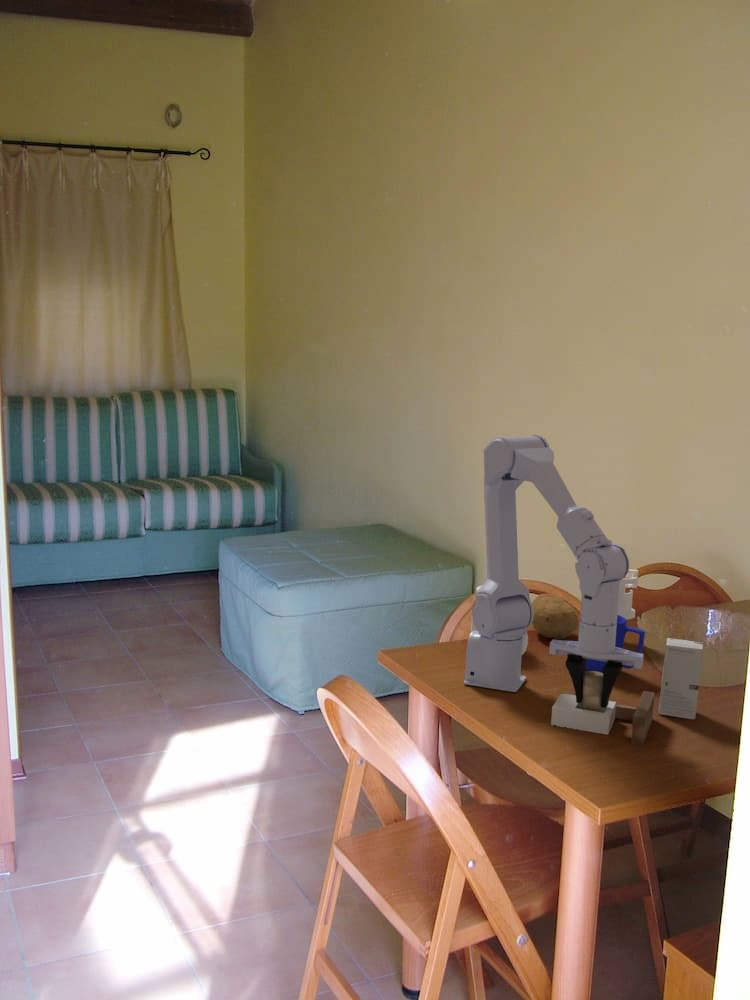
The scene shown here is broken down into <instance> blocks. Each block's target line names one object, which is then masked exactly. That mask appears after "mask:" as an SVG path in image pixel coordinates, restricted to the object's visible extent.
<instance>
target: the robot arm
mask: <svg viewBox="0 0 750 1000" xmlns="http://www.w3.org/2000/svg"><path fill="white" fill-rule="evenodd" d="M554 459H555V452H554V450H552V448H551V447H550V445H549V443H548V441H547V440H546V438H544V437H543V435H539V434H533V435H526V436H525V435H524V436H509V437H508V436H506V437H504V436H496V437H494V438H492V440H491V441H490V442H489V443H488V444H487V446H486V447H485V448H483V464H484V465H483V467H484V469H483V470H484V475H483V498H484V522H485V523H484V524H485V529H484V530H485V549H486V550H485V551H486V552H485V553H486V555H485V556H486V577H487V580H486V581H485V582H484V583H483V584H481V585H480V586H481V587H480V588H479V590H478V591H477V592H475V593H474V594H475V600H474V602H475V606H474V609H473V608H472V610H473V622H474V625H475V627H476V629H477V631H472V632H471V631H470V633H469V636H468V639H467V644H466V654H465V673H464V674H465V676H464V681H463V684H464V685H468V686H473V687H474V686H475V687H480V688H487V689H492V690H499V691H505V692H510V693H511V692H512V693H517V692H518V691H519V689H520V688H521V686H522V685H523V684H524V682H525V681H526V679H527V676H526V675H521V672H522V671H521V670H522V669H521V668H522V657H523V655H522V640H523V635H525V634H526V631H527V629H528V628H530V627H531V625H532V622H533V618H534V610H533V606H532V601H531V598H530V588H529V587H528V586H527V585H525V584H524V583H523V582H522V581H521V580H520V579H519V577H520V576H519V553H518V552H519V551H518V528H517V527H518V526H517V499H516V498H517V497H516V496H517V495H516V492H517V490H518V488H519V487H520V486H521V485H522V484H523V483H524V482H529V483H531V484H532V485H534V487H535V488H536V489H537V491H538V492H539V493H540V495H541V496H542V497H543V498H544V500H545V501H546V503H547V504H548V505H549V506H550V508H551V509H552V510H553V512H554V513H555V514H556V515H557V517H558V518H557V522H556V529H557V530H558V532H559V534H560V535H561V536H562V538H563V540H564V541H565V543H566V545H567V546H568V548H569V549H570V551H571V552H572V554H573V556H574V557H575V558H576V560H577V562H574V563H575V564H574V568H575V573H576V575H577V578H578V581H579V588H578V589H579V590H580V593H581V597H580V598H581V599H580V612H579V613H580V614H579V624H578V641H576V640H575V641H574V640H560V639H552V640H551V641H550V642H549V652H548V653H549V655H554V656H556V655H561V656H566V657H567V658H566V660H565V662H564V663H565V667H566V669H567V671H568V674H569V676H570V678H571V682H572V684H573V688H574V689H573V690H574V693H575V695H576V702H577V703H581V702H582V690H583V676H584V672H586V671H587V670H586V663H587V659H591V660H598V661H604V662H607V664H606V665H605V666H604V667H603V693H602V700H601V707H603V708H606V707H607V705H608V702H609V701H610V698H611V693H612V690H613V687H614V685H615V683H616V681H617V680H618V677H619V675H620V673H621V671H622V670H623V668H624V665H628V666H634V667H633V668H634V669H639V670H640V669H642V668H643V666H644V653H637V651H636V652H635V651H631V650H628V649H625V648H623V649H621V648H618V647H615V640H616V626H617V613H618V600H619V588H620V580H622V579H626V577H625V576H626V575H627V573H628V570H629V569H630V561H629V560H630V559H629V557H628V554H627V552H626V550H625V548H624V547H623V546H621V545H620V544H617V543H614V542H613V541H612V540H611V539H608V537H607V536H606V535H605V533H604V532H603V530H602V529H601V527H600V526H599V524H598V523H597V522H596V521H597V520H595V515H594V514H593V512H592V511H591V510H589V509H588V508H586V507H582V506H578V505H577V503H576V502H575V500H574V498H573V497H572V495H571V493H570V491H569V489H568V488H567V486H566V484H565V482H564V480H563V479H562V477H561V474H560V472H559V471H558V469H557V468H556V466H555V464H554Z"/></svg>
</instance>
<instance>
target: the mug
mask: <svg viewBox="0 0 750 1000" xmlns="http://www.w3.org/2000/svg"><path fill="white" fill-rule="evenodd" d="M628 632H631V633H635V634H638V635H639V640H638V645H637V651H636V653H642V652H643V647H644V643H645V636H646V632H645V630H643V629H640V628H638V627H632V626H628V625H627V620H626V619H625V618H624V617H622V616H620V615H617V626H616V640H615V647H618V648H621V649H624V644H625V643H624V642H625V638H626V634H627V633H628ZM642 654H643V653H642ZM606 664H607V662H604V661H598V660H591V659H587V663H586V670H585V671H586V672H587V671H596V672H601V673H603V667H604V666H605V665H606ZM623 668H624V669H632V668H634V666H628V665H624V667H623Z"/></svg>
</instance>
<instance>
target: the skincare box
mask: <svg viewBox="0 0 750 1000" xmlns="http://www.w3.org/2000/svg"><path fill="white" fill-rule="evenodd" d="M704 645H705V644H704V643H703V642H699V641H691V640H687V639H686V640H685V639H677V638H670V637H667V638H666V644H665V651H664V659H663V668H662V676H661V687H660V696H659V703H658V705H659V706H658V715H662V716H669V717H675V718H680V719H687V720H696V716H697V715H696V714H697V707H698V699H699V690H700V681H701V673H702V667H703V664H702V663H703V657H704Z"/></svg>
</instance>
